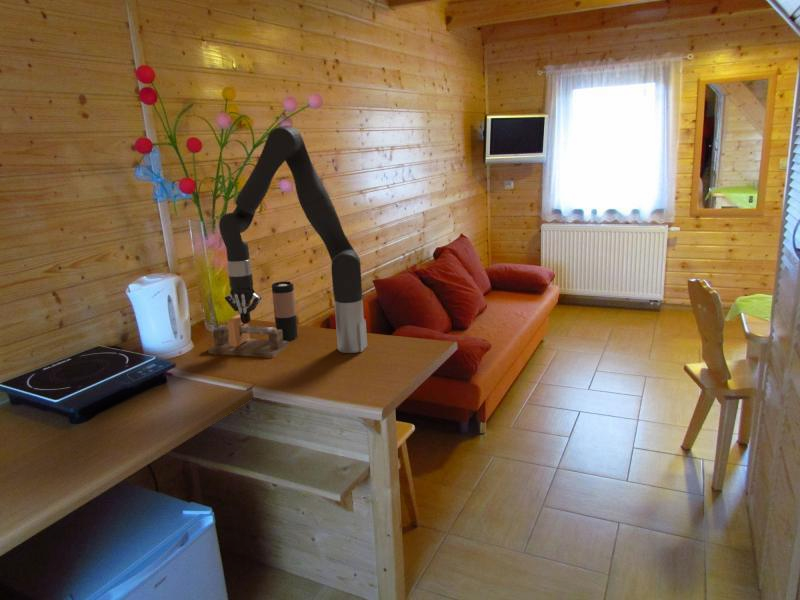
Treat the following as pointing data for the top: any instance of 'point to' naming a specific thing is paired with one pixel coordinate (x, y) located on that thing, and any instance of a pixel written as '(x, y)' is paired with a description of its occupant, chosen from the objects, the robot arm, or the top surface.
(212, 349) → the rod stand
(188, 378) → the top surface
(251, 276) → the robot arm
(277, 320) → the travel mug
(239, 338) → the light wood square slab
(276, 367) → the top surface
